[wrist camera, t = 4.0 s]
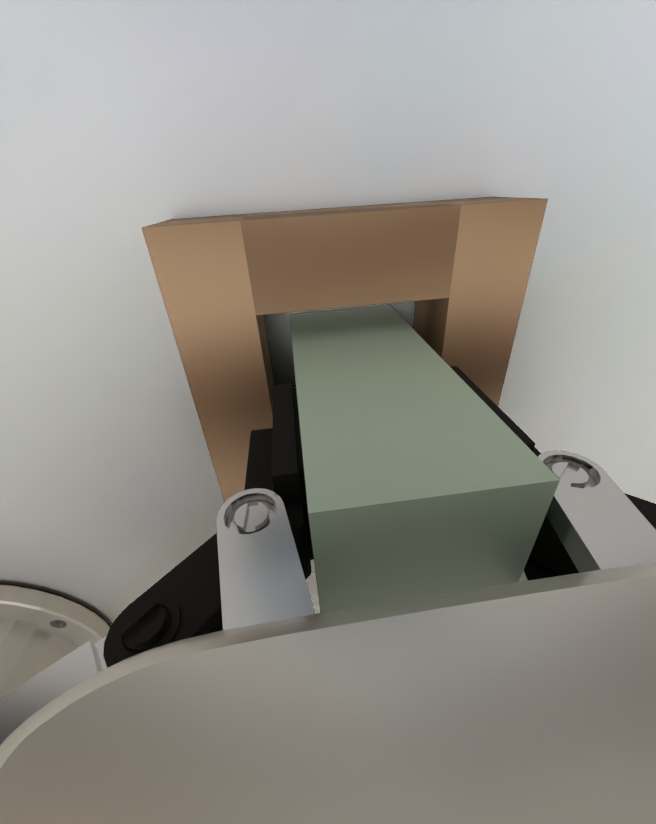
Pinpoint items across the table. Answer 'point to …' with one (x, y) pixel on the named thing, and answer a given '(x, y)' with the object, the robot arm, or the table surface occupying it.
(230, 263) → the socket
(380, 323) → the plug
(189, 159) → the table surface
